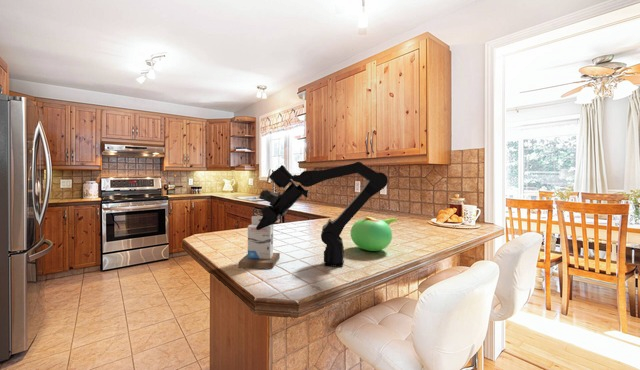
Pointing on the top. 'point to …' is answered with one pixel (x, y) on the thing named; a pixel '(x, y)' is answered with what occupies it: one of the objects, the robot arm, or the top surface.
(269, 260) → the walnut block
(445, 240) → the top surface
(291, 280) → the top surface
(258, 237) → the ink box
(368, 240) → the round green pot
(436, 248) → the top surface
